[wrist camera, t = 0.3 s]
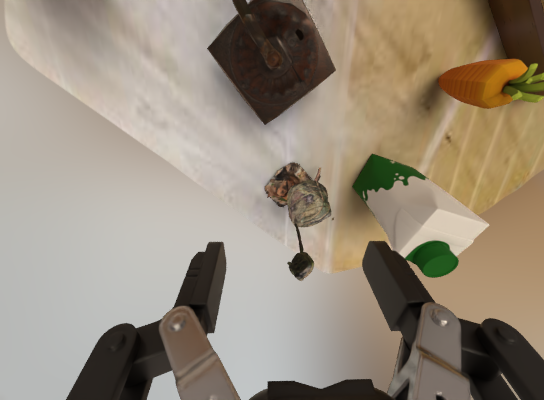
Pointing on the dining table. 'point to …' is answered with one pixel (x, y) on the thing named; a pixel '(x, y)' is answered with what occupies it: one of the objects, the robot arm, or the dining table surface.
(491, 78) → the carrot
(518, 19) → the rack
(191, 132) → the dining table surface
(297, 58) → the manual coffee grinder
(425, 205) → the milk carton
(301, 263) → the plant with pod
